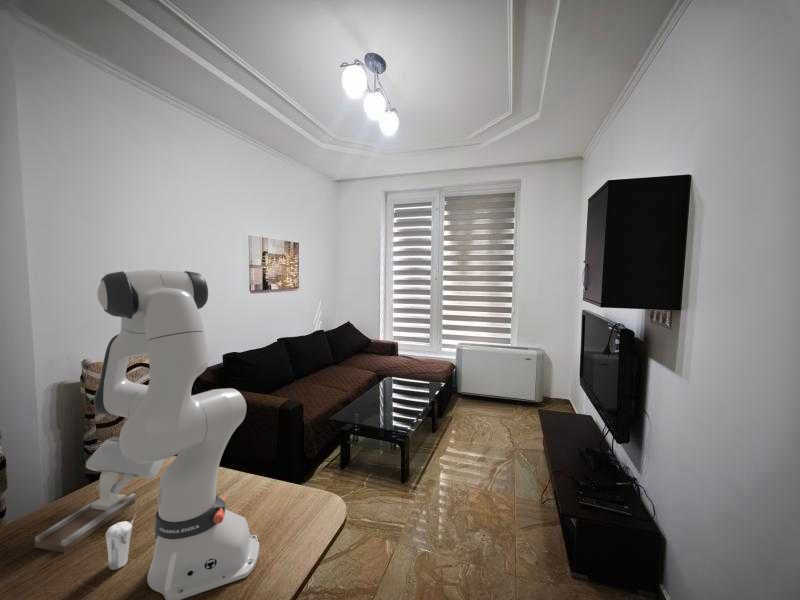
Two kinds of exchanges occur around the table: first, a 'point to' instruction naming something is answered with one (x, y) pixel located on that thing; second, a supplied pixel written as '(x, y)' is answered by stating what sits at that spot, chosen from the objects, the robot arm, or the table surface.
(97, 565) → the table surface
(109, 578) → the table surface
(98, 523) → the fader track
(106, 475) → the fader tab
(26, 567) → the table surface
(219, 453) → the robot arm
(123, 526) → the milkshake
